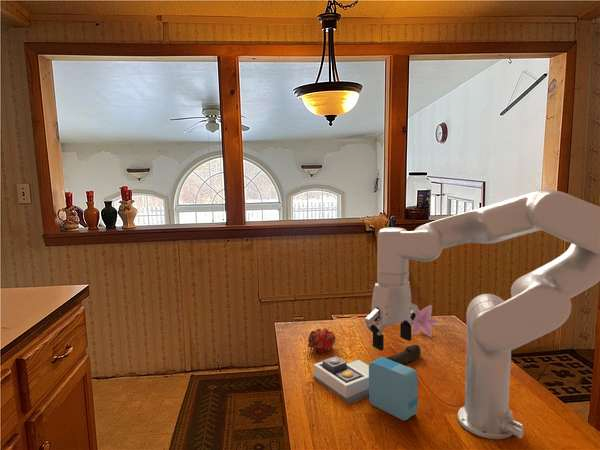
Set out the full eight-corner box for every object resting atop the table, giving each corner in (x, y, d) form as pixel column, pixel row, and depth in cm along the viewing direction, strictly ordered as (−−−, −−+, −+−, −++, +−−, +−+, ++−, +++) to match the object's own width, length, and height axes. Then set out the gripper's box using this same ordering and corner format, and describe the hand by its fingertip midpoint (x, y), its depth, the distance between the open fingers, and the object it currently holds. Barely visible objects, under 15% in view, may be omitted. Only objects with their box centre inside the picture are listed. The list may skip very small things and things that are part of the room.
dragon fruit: (305, 359, 137) (331, 354, 144) (320, 351, 131) (346, 346, 139) (298, 335, 141) (324, 331, 148) (312, 326, 135) (338, 322, 143)
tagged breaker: (360, 385, 114) (360, 374, 113) (346, 391, 111) (346, 379, 111) (348, 378, 118) (348, 367, 117) (335, 383, 115) (335, 372, 115)
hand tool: (383, 376, 122) (383, 361, 121) (374, 370, 125) (374, 356, 125) (426, 360, 132) (427, 346, 131) (417, 355, 135) (417, 342, 135)
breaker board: (397, 384, 117) (397, 369, 116) (349, 404, 107) (349, 388, 107) (357, 362, 131) (357, 348, 130) (313, 377, 122) (312, 363, 121)
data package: (417, 415, 102) (418, 370, 100) (407, 423, 99) (408, 376, 97) (378, 396, 111) (378, 355, 109) (368, 403, 108) (368, 360, 106)
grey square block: (346, 372, 119) (346, 361, 118) (333, 376, 116) (332, 366, 115) (336, 365, 123) (335, 355, 122) (322, 370, 120) (322, 359, 120)
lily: (398, 331, 157) (400, 315, 152) (414, 313, 164) (416, 297, 158) (426, 348, 150) (429, 332, 145) (442, 329, 157) (445, 312, 151)
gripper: (405, 269, 108) (404, 331, 110) (355, 280, 99) (356, 347, 101) (428, 275, 102) (427, 340, 104) (377, 287, 93) (377, 358, 95)
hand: (392, 343), depth 103 cm, fingers open, 9 cm apart
